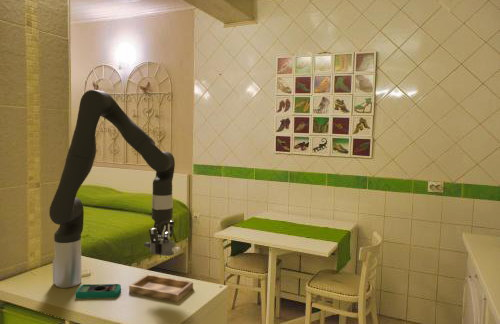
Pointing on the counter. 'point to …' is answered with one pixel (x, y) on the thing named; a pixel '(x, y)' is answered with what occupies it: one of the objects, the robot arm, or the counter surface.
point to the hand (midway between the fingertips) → (161, 251)
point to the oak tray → (161, 287)
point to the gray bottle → (163, 247)
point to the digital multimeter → (98, 291)
